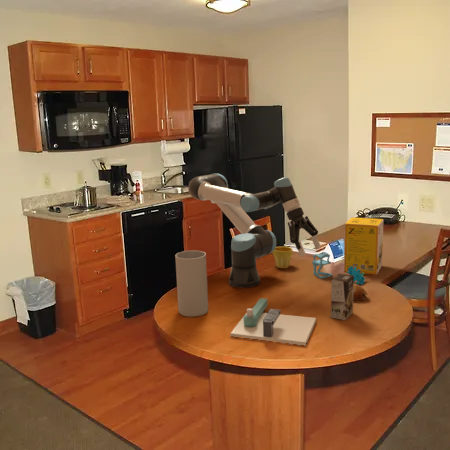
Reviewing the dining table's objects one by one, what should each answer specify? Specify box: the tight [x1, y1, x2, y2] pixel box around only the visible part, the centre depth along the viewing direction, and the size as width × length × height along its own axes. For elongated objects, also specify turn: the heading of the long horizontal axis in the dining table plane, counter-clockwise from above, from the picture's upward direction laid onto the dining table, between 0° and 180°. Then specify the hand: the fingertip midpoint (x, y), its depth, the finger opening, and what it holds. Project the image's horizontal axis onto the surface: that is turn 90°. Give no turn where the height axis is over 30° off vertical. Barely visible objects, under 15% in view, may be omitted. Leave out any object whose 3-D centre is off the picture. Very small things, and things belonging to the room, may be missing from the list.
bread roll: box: [353, 283, 368, 302], centre depth 224 cm, size 10×10×8 cm
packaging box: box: [343, 216, 384, 276], centre depth 261 cm, size 16×16×25 cm
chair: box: [311, 252, 333, 280], centre depth 254 cm, size 8×8×12 cm
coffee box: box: [330, 273, 355, 321], centre depth 204 cm, size 9×6×16 cm
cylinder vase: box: [174, 250, 209, 318], centre depth 212 cm, size 12×12×25 cm
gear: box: [347, 266, 366, 286], centre depth 243 cm, size 11×6×10 cm
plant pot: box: [272, 246, 293, 269], centre depth 270 cm, size 10×10×10 cm
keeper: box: [263, 308, 282, 337], centre depth 190 cm, size 4×12×6 cm, turn 161°
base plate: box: [230, 312, 317, 347], centre depth 195 cm, size 28×22×2 cm
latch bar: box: [243, 298, 268, 327], centre depth 203 cm, size 22×5×6 cm, turn 160°
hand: (311, 252), depth 234 cm, fingers open, 13 cm apart
